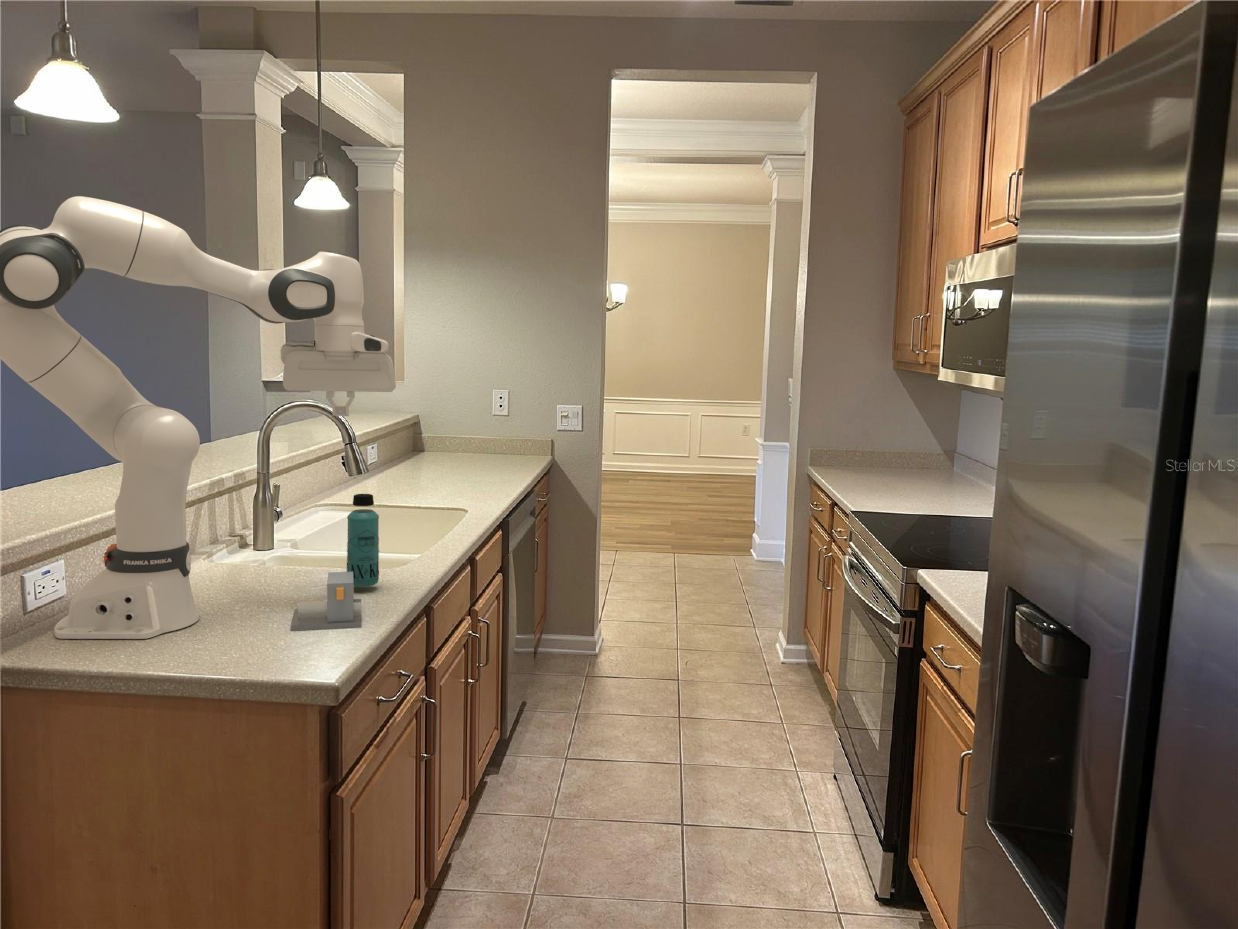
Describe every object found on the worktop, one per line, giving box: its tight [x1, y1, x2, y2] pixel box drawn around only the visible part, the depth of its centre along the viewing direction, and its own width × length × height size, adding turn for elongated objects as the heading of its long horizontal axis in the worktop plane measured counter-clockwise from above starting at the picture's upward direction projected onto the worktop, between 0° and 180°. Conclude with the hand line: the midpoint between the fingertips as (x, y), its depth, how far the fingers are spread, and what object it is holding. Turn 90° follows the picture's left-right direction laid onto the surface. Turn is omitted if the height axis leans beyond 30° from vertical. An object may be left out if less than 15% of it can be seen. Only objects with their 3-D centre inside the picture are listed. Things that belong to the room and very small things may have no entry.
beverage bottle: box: [346, 493, 380, 588], centre depth 187 cm, size 6×7×20 cm
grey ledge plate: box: [290, 598, 362, 632], centre depth 167 cm, size 12×10×4 cm
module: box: [326, 571, 355, 622], centre depth 168 cm, size 4×9×7 cm, turn 16°
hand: (340, 415), depth 172 cm, fingers closed
